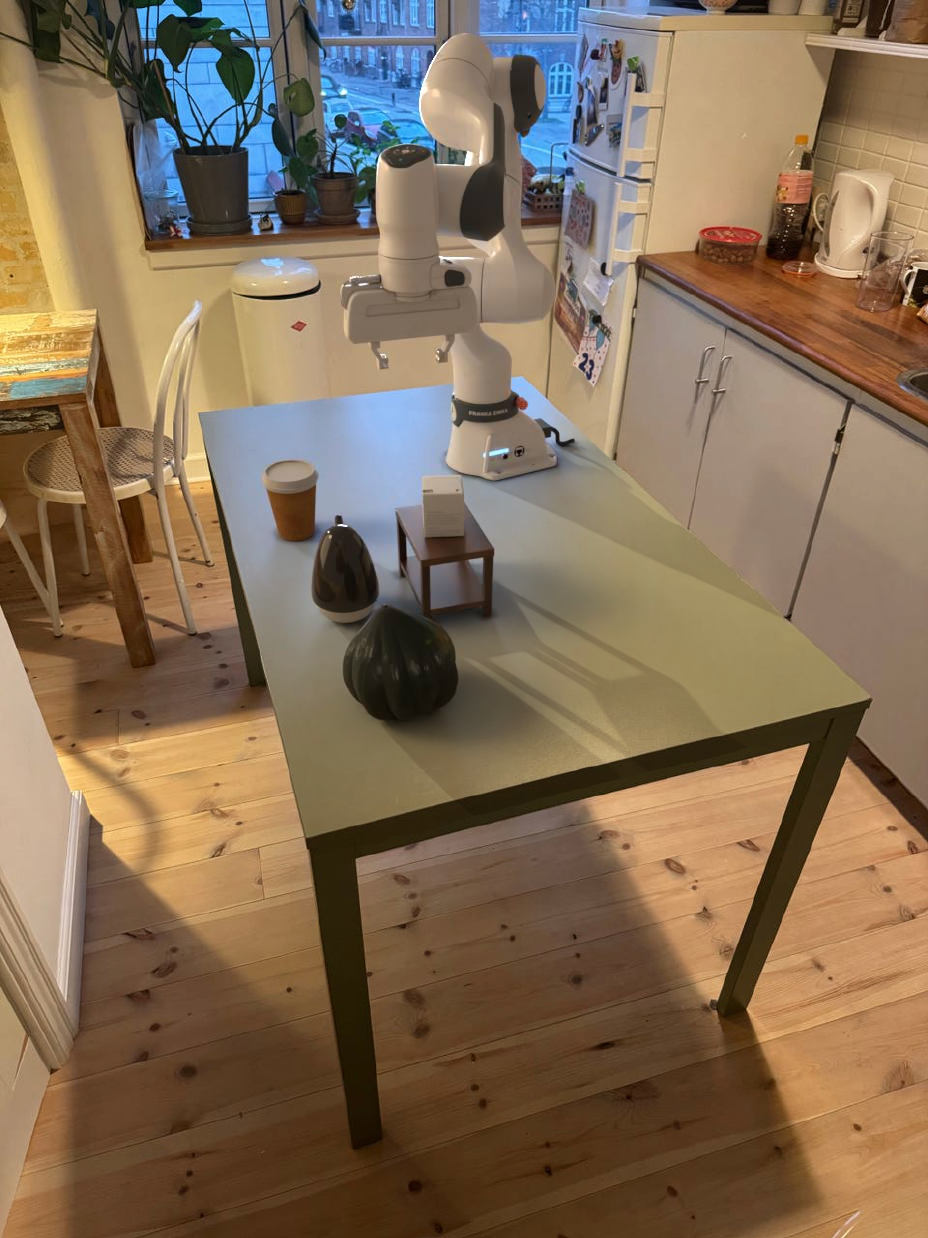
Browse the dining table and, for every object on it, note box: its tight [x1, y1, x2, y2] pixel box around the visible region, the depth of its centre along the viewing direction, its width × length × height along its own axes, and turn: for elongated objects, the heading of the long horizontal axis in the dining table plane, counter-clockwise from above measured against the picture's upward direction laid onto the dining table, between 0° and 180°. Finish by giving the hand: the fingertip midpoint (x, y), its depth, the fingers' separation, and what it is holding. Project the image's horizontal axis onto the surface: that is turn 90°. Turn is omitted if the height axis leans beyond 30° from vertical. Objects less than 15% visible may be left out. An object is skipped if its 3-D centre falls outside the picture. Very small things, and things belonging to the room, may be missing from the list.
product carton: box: [421, 474, 465, 538], centre depth 131 cm, size 6×6×7 cm
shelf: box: [394, 501, 495, 620], centre depth 136 cm, size 11×16×12 cm
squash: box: [342, 603, 459, 721], centre depth 116 cm, size 14×15×15 cm
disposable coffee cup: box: [261, 458, 319, 542], centre depth 152 cm, size 10×10×12 cm
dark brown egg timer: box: [310, 514, 381, 624], centre depth 131 cm, size 10×10×15 cm
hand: (412, 364), depth 136 cm, fingers open, 8 cm apart
